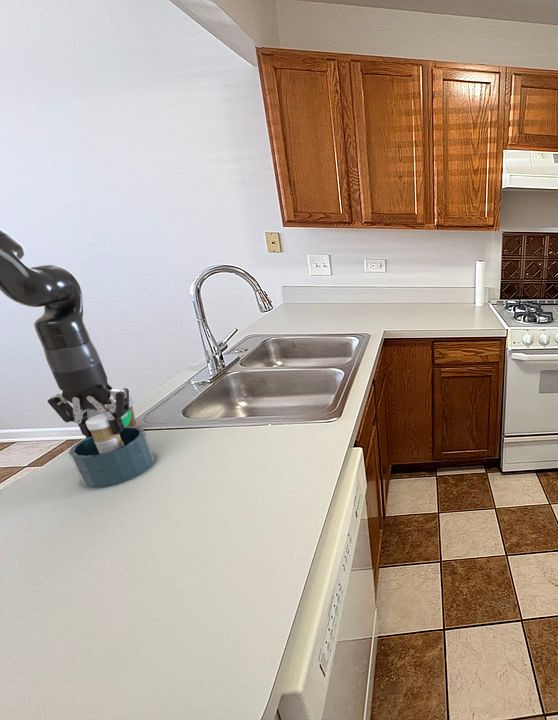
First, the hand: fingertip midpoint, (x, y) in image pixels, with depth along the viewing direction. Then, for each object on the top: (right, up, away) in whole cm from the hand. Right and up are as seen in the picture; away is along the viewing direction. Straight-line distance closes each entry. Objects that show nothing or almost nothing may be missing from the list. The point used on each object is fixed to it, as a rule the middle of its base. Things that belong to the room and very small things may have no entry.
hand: (105, 433), depth 89 cm
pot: (0, -9, +4) cm, 10 cm away
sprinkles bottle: (0, -9, +4) cm, 10 cm away
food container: (-12, -5, +15) cm, 20 cm away
